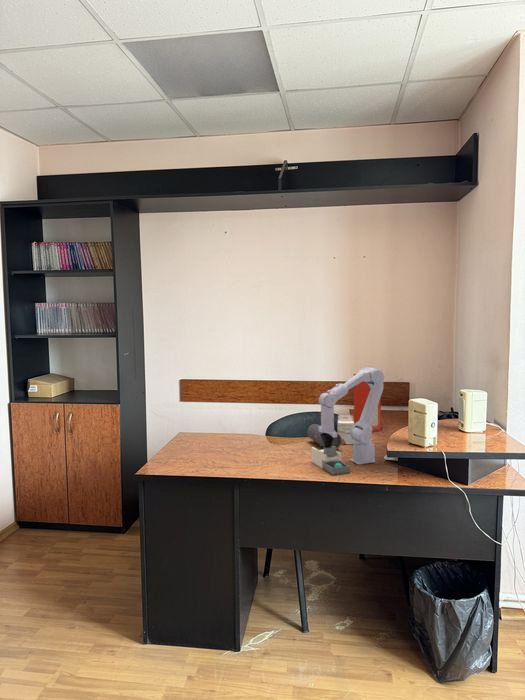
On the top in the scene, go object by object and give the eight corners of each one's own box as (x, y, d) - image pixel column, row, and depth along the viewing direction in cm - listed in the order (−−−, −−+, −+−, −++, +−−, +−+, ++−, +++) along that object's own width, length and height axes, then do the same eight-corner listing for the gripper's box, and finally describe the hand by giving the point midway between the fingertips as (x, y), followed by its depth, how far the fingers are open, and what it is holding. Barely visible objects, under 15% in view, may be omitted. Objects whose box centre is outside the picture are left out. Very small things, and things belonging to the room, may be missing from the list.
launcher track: (326, 459, 227) (326, 445, 227) (341, 468, 214) (341, 453, 214) (311, 461, 225) (311, 447, 224) (325, 470, 211) (325, 455, 211)
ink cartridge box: (337, 444, 252) (337, 417, 251) (337, 442, 257) (337, 415, 256) (354, 444, 251) (354, 417, 250) (353, 442, 256) (353, 415, 255)
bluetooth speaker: (306, 442, 259) (305, 423, 258) (321, 440, 262) (321, 422, 262) (326, 453, 238) (325, 433, 237) (342, 450, 241) (342, 431, 240)
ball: (339, 461, 211) (343, 463, 207) (340, 469, 211) (344, 471, 207) (332, 462, 210) (336, 464, 206) (332, 470, 209) (336, 472, 206)
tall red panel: (368, 432, 277) (368, 377, 274) (353, 425, 293) (353, 373, 291) (381, 431, 279) (380, 376, 277) (365, 424, 296) (365, 373, 293)
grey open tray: (340, 467, 215) (340, 460, 215) (349, 473, 207) (349, 466, 207) (323, 469, 212) (323, 463, 212) (332, 475, 205) (332, 468, 205)
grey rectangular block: (334, 454, 217) (334, 445, 217) (336, 455, 215) (336, 446, 215) (323, 455, 215) (323, 447, 215) (325, 457, 213) (325, 448, 213)
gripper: (312, 417, 222) (312, 446, 223) (326, 424, 208) (327, 454, 209) (326, 416, 224) (326, 444, 225) (341, 422, 210) (341, 452, 211)
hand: (327, 449), depth 217 cm, fingers closed
